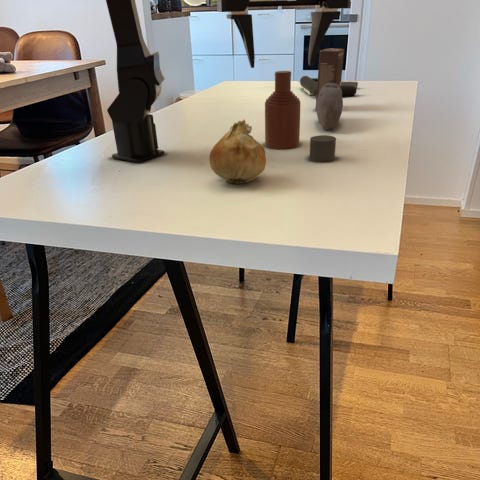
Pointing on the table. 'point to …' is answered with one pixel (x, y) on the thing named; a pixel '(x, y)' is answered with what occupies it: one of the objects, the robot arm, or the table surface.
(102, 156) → the table surface
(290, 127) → the bottle
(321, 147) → the cap
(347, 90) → the door handle
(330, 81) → the box
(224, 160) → the onion
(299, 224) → the table surface
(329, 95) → the perforated stone tool
